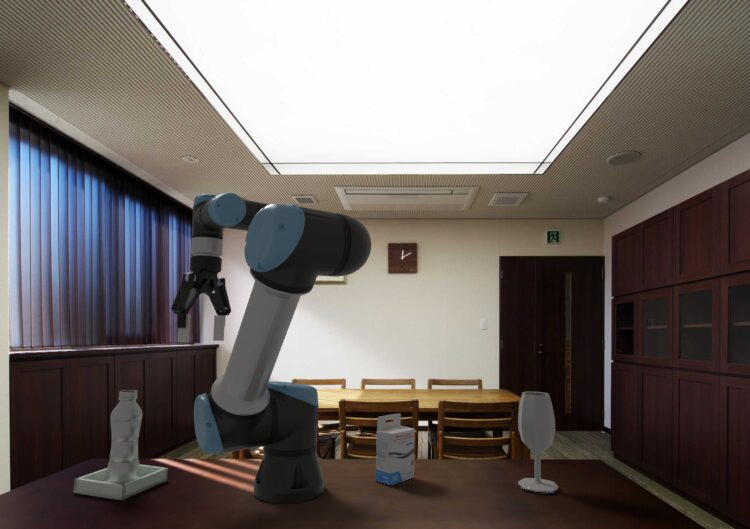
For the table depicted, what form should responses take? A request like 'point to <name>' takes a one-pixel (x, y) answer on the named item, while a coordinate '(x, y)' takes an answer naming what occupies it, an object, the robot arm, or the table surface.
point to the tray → (102, 488)
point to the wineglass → (536, 435)
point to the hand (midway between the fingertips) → (201, 341)
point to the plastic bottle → (124, 439)
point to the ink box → (394, 450)
